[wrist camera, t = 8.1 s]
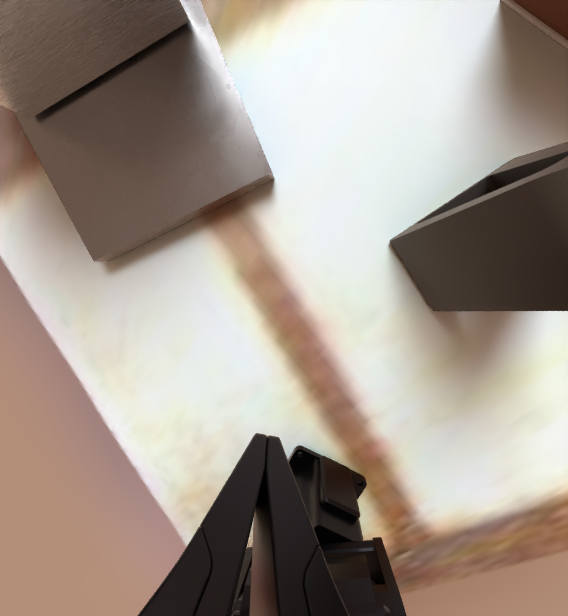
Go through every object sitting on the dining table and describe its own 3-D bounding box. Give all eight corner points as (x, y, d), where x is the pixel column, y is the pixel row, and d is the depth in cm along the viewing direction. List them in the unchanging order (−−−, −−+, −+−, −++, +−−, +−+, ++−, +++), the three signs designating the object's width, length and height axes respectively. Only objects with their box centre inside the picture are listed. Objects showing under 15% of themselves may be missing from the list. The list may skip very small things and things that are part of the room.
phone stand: (430, 310, 20) (615, 387, 8) (388, 240, 19) (522, 213, 7) (552, 238, 18) (995, 204, 7) (510, 160, 18) (922, -34, 6)
